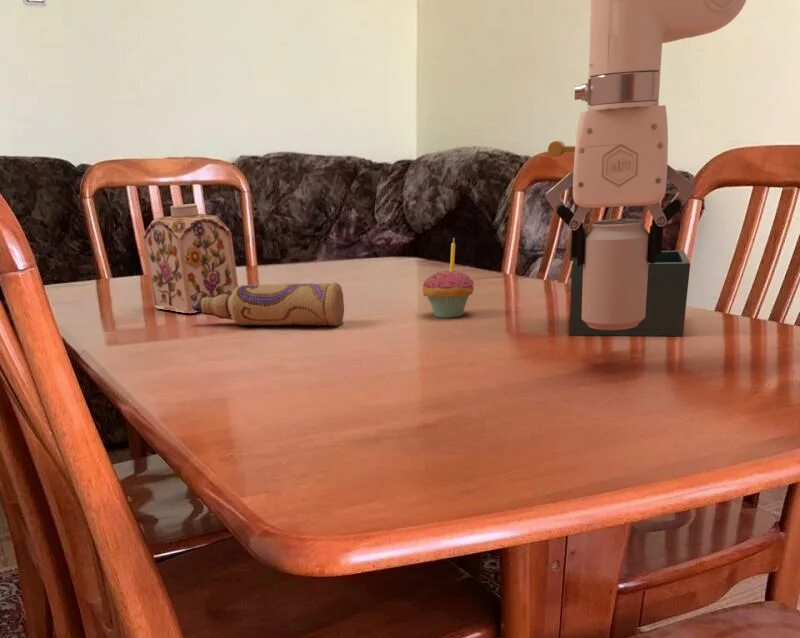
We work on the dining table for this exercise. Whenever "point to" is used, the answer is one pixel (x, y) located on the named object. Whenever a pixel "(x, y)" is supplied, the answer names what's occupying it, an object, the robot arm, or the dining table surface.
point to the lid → (557, 150)
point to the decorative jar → (189, 258)
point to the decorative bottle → (278, 304)
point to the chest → (661, 300)
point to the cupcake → (448, 290)
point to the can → (615, 274)
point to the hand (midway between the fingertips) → (615, 262)
